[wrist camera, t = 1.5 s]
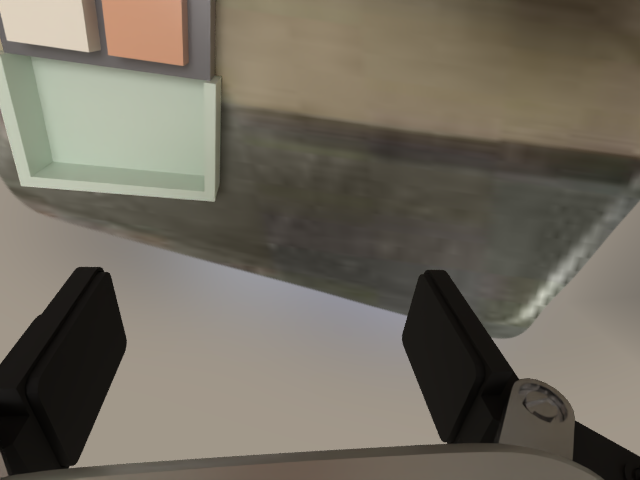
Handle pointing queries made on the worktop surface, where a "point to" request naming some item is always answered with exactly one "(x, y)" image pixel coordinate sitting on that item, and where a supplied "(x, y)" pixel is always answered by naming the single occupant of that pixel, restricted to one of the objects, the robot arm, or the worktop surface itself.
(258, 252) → the worktop surface
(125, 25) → the tile terracotta
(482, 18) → the worktop surface
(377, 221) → the worktop surface
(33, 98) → the grey platform with tray
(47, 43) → the tile cream
